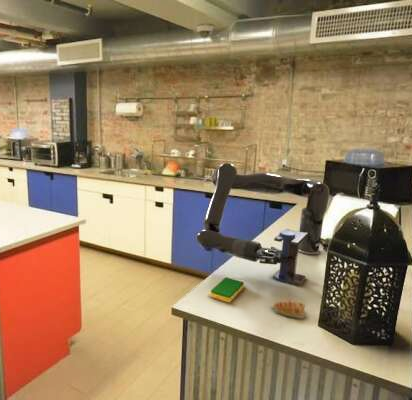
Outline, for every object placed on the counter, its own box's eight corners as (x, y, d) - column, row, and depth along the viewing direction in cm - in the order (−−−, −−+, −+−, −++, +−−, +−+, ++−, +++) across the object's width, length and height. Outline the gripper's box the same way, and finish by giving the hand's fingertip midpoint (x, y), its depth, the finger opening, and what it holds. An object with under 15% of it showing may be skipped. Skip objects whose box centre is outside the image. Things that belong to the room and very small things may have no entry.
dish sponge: (243, 288, 137) (244, 282, 137) (229, 303, 127) (229, 296, 126) (225, 282, 141) (226, 276, 141) (210, 296, 131) (210, 290, 130)
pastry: (274, 315, 119) (275, 304, 118) (272, 305, 125) (273, 295, 125) (305, 320, 117) (307, 309, 116) (302, 309, 123) (303, 299, 122)
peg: (276, 274, 140) (281, 229, 135) (292, 278, 136) (298, 232, 132) (271, 279, 136) (276, 233, 131) (287, 284, 132) (293, 236, 128)
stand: (279, 271, 151) (284, 227, 147) (305, 278, 145) (311, 232, 141) (266, 284, 140) (271, 237, 135) (294, 293, 134) (300, 243, 129)
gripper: (239, 245, 137) (288, 257, 126) (253, 235, 147) (299, 245, 137) (238, 264, 138) (286, 277, 128) (251, 253, 149) (297, 264, 138)
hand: (292, 261), depth 132 cm, fingers closed on peg, 2 cm apart
